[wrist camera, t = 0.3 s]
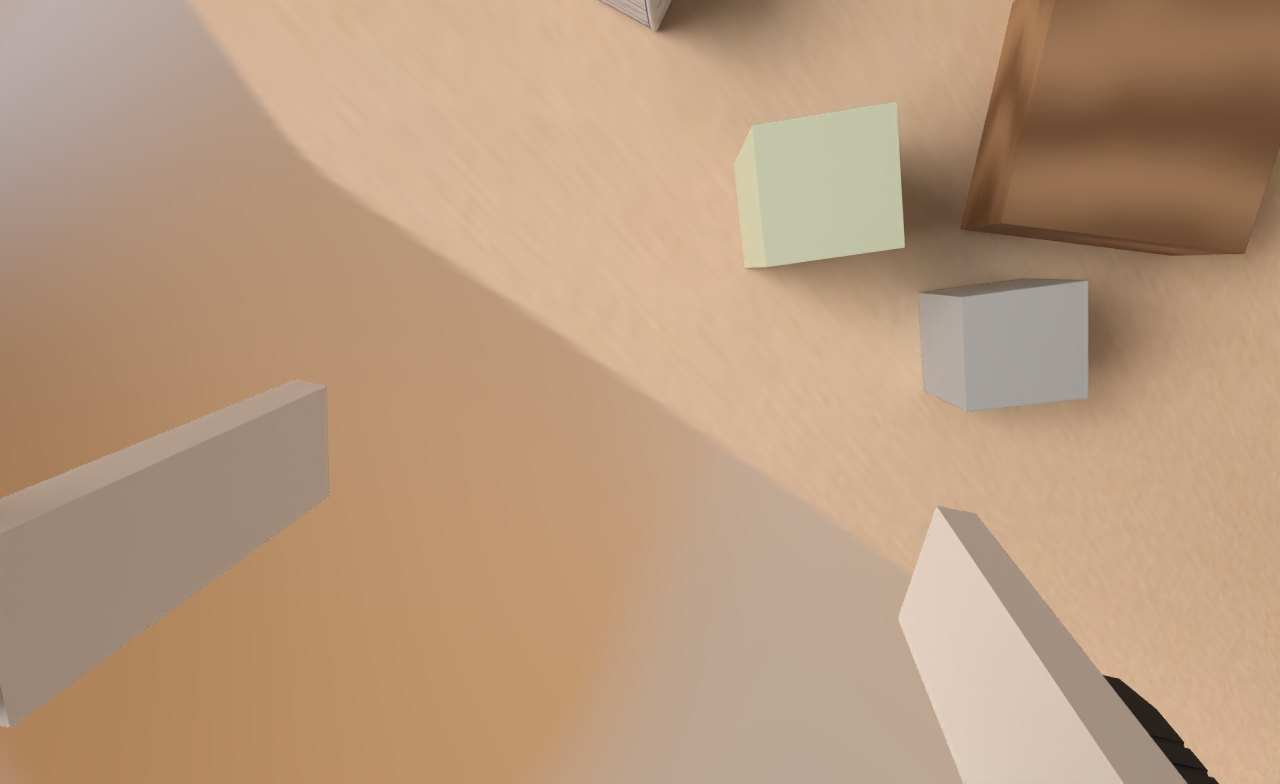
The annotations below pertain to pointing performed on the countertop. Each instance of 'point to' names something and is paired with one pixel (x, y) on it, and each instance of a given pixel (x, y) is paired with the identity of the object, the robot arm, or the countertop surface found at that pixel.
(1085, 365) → the grey block
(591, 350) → the countertop surface
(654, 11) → the medicine box
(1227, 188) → the walnut block
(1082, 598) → the countertop surface
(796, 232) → the sage block
